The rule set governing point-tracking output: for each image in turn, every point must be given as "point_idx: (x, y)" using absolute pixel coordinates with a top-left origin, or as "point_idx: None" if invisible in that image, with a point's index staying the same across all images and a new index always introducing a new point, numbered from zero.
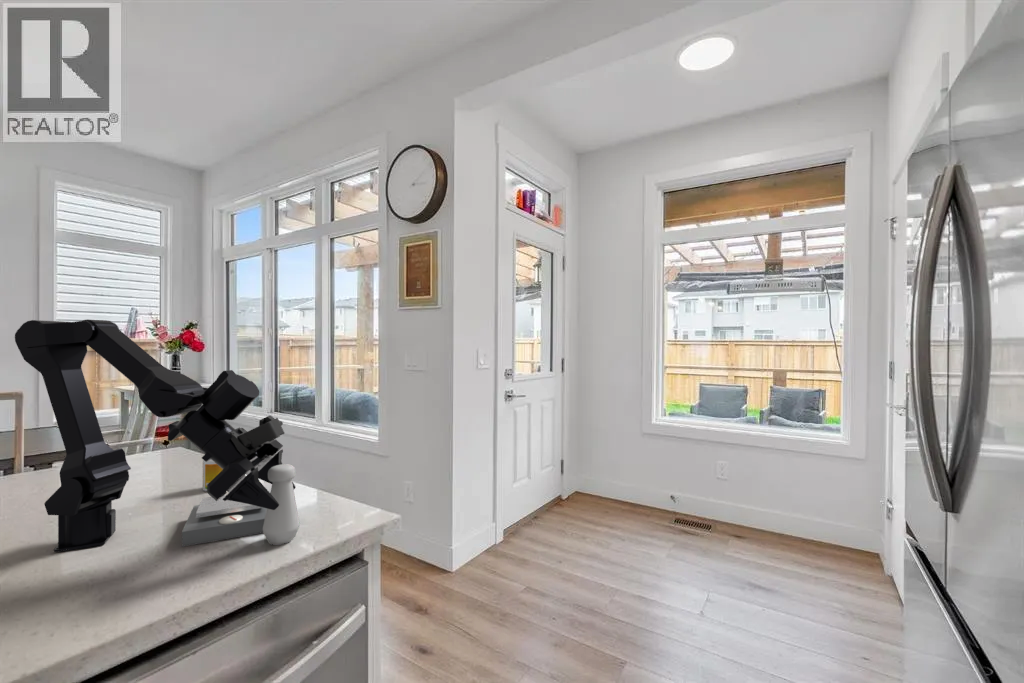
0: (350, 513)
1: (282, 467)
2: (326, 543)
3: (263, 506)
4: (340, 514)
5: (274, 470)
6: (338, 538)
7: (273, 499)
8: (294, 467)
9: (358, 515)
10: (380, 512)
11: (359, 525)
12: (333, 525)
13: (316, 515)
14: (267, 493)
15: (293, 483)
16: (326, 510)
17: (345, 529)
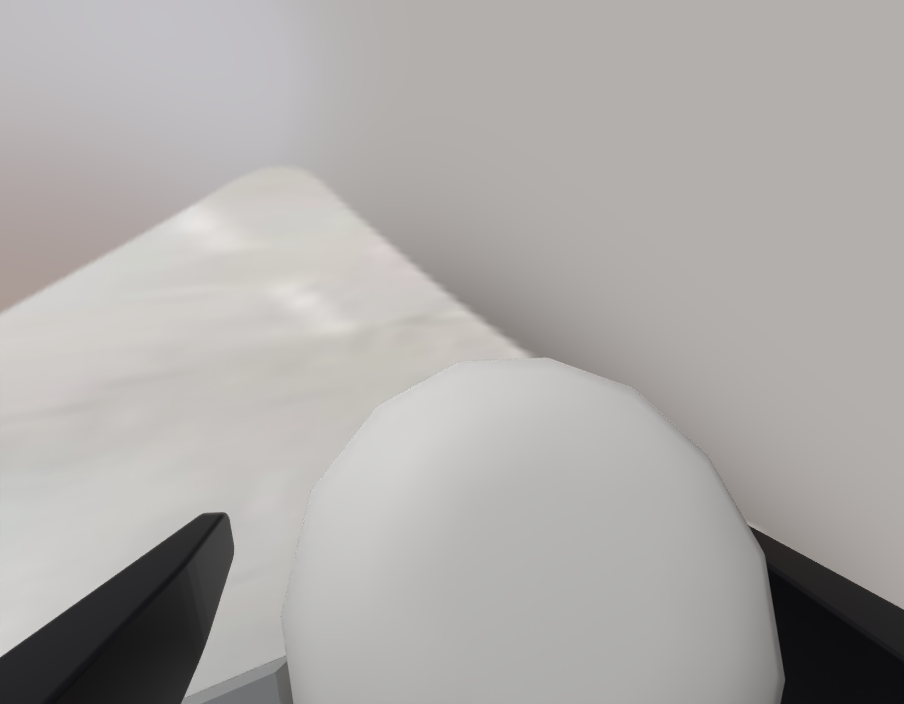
0: (172, 306)
1: (671, 522)
2: (498, 347)
3: None
4: (166, 347)
5: (776, 674)
6: (457, 313)
7: (763, 537)
8: (468, 361)
9: (215, 271)
10: (213, 197)
11: (339, 257)
12: (309, 354)
13: (125, 466)
14: (866, 595)
15: (169, 537)
16: (61, 428)
17: (369, 301)
